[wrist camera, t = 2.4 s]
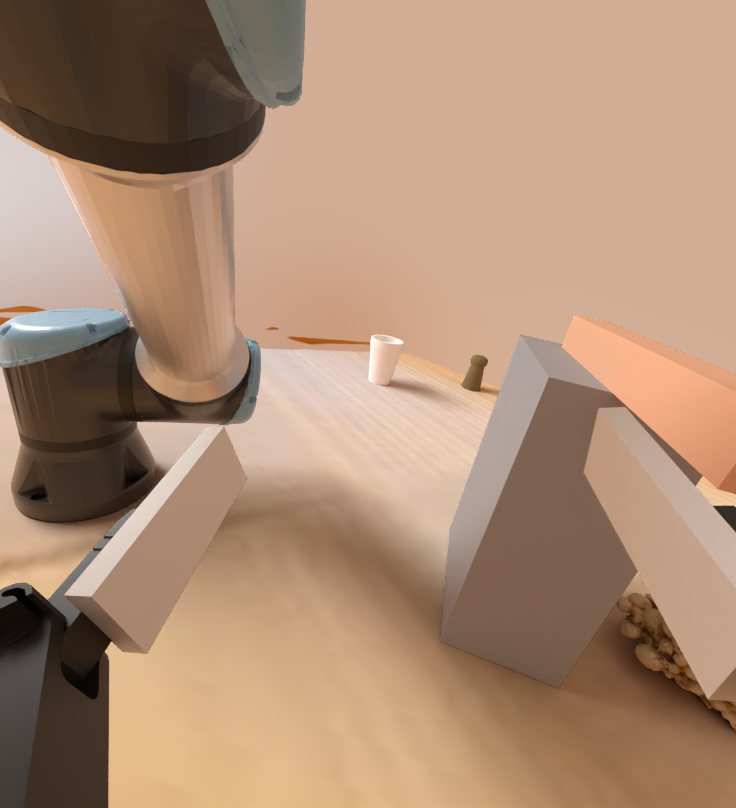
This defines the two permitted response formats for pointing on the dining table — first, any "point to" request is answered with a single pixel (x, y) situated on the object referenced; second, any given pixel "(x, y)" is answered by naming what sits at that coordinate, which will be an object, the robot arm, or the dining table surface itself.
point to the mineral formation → (664, 649)
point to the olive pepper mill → (475, 373)
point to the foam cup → (383, 358)
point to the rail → (665, 393)
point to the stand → (537, 523)
